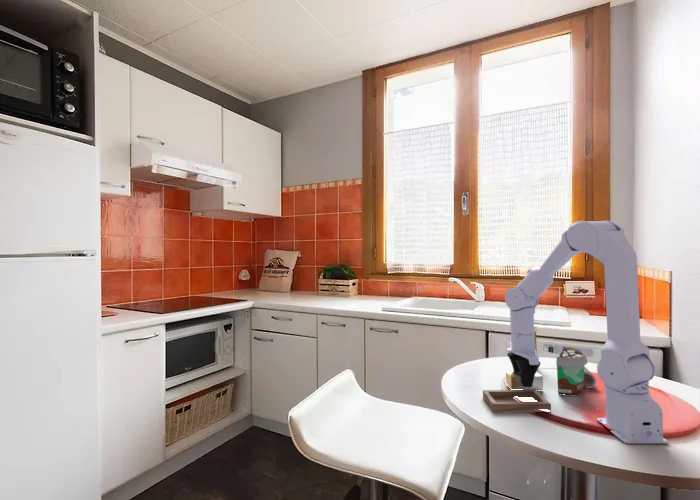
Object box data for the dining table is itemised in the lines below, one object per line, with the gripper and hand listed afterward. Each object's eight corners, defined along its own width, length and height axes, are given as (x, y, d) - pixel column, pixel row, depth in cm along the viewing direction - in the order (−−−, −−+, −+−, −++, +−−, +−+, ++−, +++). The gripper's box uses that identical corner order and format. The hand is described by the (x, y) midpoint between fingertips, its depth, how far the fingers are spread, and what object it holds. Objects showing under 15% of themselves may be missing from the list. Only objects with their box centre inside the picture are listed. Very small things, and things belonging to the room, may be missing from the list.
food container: (586, 402, 88) (585, 361, 88) (557, 396, 92) (556, 357, 92) (590, 385, 98) (589, 348, 98) (563, 381, 102) (562, 345, 102)
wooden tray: (551, 412, 84) (550, 403, 84) (493, 412, 85) (492, 404, 85) (535, 397, 92) (535, 389, 92) (482, 398, 93) (482, 390, 93)
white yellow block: (542, 391, 96) (542, 376, 96) (511, 391, 96) (511, 376, 96) (536, 385, 100) (535, 370, 100) (506, 385, 100) (505, 371, 100)
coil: (597, 374, 96) (576, 353, 113) (577, 371, 97) (559, 351, 114) (595, 391, 96) (574, 368, 113) (575, 388, 97) (557, 365, 114)
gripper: (497, 326, 105) (499, 373, 106) (517, 340, 91) (519, 394, 91) (523, 326, 105) (524, 373, 105) (546, 339, 90) (548, 394, 91)
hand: (523, 383), depth 98 cm, fingers closed on white yellow block, 4 cm apart
